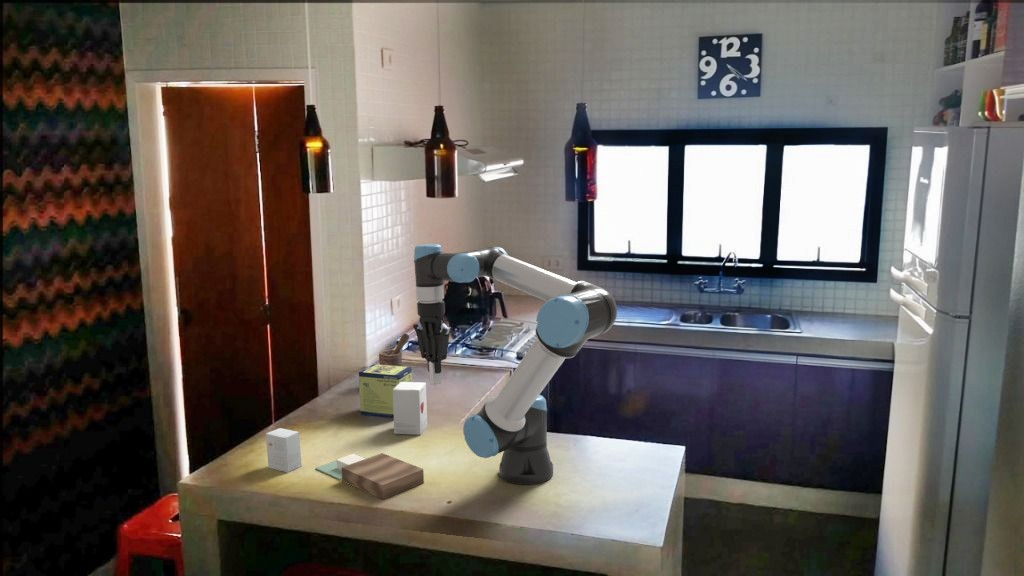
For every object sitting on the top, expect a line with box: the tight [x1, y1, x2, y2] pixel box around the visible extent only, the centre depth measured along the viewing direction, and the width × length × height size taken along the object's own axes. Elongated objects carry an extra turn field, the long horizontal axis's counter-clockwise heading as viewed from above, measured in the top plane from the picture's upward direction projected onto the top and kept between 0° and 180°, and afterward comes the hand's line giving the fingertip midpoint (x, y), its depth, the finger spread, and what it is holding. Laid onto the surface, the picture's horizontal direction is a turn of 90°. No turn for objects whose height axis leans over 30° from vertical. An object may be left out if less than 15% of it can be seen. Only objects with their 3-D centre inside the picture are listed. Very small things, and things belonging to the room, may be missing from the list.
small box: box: [265, 427, 302, 473], centre depth 236 cm, size 8×6×10 cm
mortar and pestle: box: [378, 332, 410, 366], centre depth 315 cm, size 12×9×20 cm
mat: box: [315, 453, 368, 481], centre depth 236 cm, size 12×14×1 cm
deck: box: [341, 452, 425, 500], centre depth 225 cm, size 18×14×4 cm
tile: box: [336, 453, 366, 470], centre depth 234 cm, size 8×6×2 cm
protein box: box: [358, 363, 413, 419], centre depth 282 cm, size 10×16×16 cm
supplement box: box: [393, 381, 428, 436], centre depth 265 cm, size 9×9×15 cm
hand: (435, 384), depth 228 cm, fingers closed
